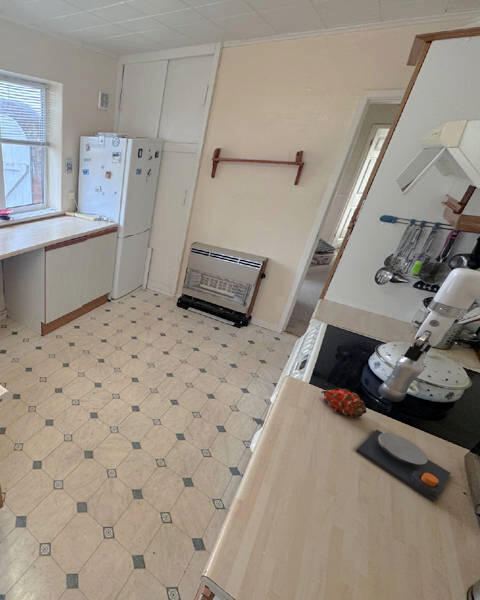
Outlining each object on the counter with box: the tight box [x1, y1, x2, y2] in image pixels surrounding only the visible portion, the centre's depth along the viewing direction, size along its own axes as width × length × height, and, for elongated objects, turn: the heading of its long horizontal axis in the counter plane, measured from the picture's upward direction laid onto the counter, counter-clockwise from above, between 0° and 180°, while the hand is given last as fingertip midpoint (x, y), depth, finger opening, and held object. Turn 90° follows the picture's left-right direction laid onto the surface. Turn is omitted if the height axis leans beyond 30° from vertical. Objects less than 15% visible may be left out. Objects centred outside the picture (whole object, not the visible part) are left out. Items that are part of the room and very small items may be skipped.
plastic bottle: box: [377, 351, 428, 403], centre depth 108 cm, size 6×7×20 cm
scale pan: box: [378, 432, 428, 466], centre depth 87 cm, size 10×10×1 cm
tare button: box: [421, 473, 439, 487], centre depth 79 cm, size 3×3×2 cm
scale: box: [355, 429, 452, 503], centre depth 86 cm, size 16×14×4 cm
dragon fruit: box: [320, 387, 367, 419], centre depth 103 cm, size 8×8×12 cm
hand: (415, 354), depth 104 cm, fingers open, 9 cm apart
